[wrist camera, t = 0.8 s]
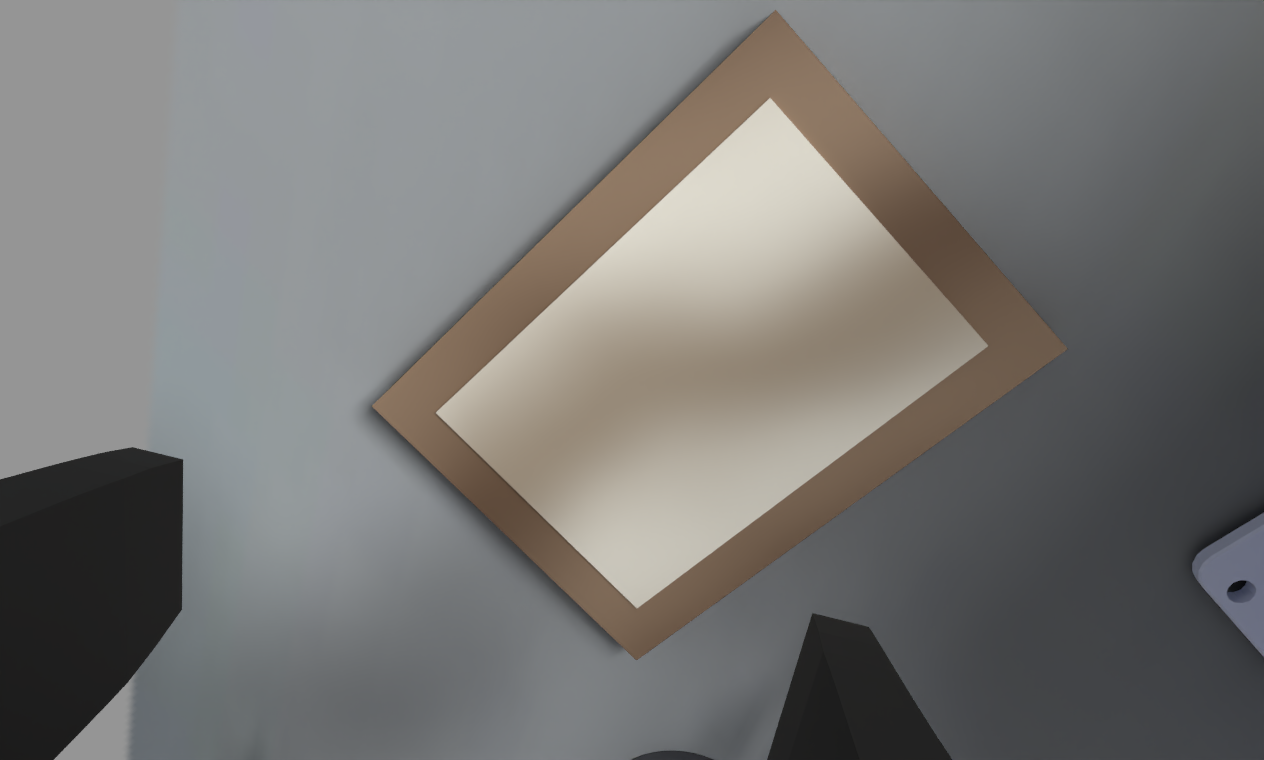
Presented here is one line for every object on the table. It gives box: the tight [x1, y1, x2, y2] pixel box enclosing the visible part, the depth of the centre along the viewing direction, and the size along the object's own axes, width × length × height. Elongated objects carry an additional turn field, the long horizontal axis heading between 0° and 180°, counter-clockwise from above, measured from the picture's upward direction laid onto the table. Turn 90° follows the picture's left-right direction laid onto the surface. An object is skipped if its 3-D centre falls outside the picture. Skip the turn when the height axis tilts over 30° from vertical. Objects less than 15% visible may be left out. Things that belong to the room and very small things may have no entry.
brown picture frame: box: [372, 10, 1067, 660], centre depth 19 cm, size 8×11×1 cm
